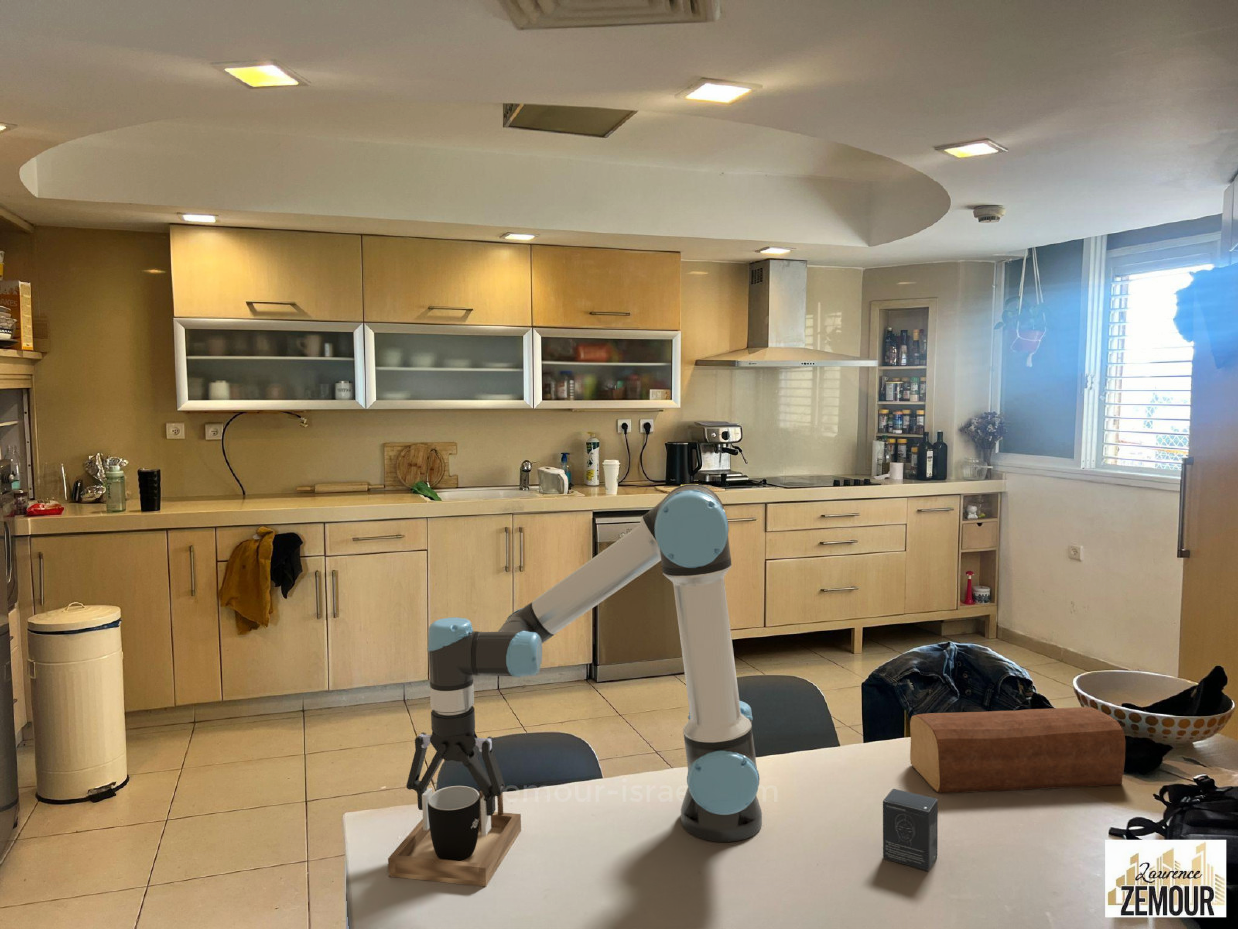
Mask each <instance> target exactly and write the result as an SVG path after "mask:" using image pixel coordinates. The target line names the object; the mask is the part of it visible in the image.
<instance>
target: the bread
mask: <svg viewBox="0 0 1238 929" xmlns="http://www.w3.org/2000/svg"><path fill="white" fill-rule="evenodd" d="M909 723H910V724H909V728H910V729H909V731H910V732H909V733H910V751H909V754H910V756H909V759H910V760H909V761H910V765H911V766H913V768H914V769H915V770H916V771H917V772H918V773H919V775H921V777H923V778H924V780H925V781H926V782H927V783H928V785H930V786H931V787H932V788H933V789H934V791H936V792H937V793H939V794H947V793H948V794H953V793H956V794H957V793H958V794H959V793H975V792H992V791H993V792H995V791H1019V790H1020V791H1021V790H1035V789H1036V790H1038V789H1039V790H1041V789H1043V790H1045V789H1061V788H1080V787H1100V786H1117V785H1123V784H1122V783H1123V776H1124V770H1125V762H1126V737H1125V732H1124V729H1123V728H1122V726H1121V725H1120V723H1119V722H1118V721H1117V720H1116V719H1114V718H1113V717H1112V716H1110V715H1108V714H1106V713H1105V712H1103V711H1100V710H1099V709H1097V708H1094V707H1092V706H1081V707H1079V706H1078V707H1075V706H1073V707H1058V708H1057V707H1056V708H1035V709H1034V708H1031V709H1030V708H1029V709H1020V710H994V711H967V712H965V711H963V712H961V711H959V712H933V713H932V712H930V713H928V712H927V713H919V714H914V715H912V716H911V718H910V722H909Z"/></svg>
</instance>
